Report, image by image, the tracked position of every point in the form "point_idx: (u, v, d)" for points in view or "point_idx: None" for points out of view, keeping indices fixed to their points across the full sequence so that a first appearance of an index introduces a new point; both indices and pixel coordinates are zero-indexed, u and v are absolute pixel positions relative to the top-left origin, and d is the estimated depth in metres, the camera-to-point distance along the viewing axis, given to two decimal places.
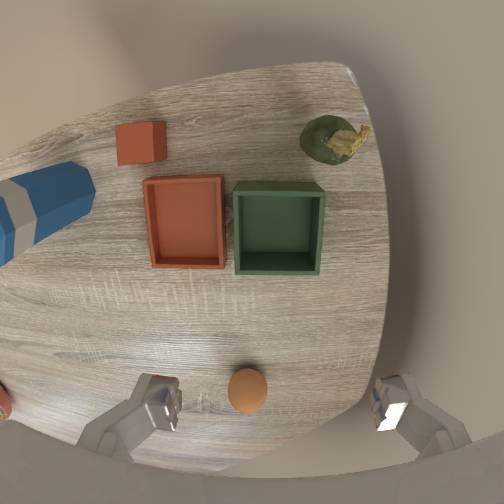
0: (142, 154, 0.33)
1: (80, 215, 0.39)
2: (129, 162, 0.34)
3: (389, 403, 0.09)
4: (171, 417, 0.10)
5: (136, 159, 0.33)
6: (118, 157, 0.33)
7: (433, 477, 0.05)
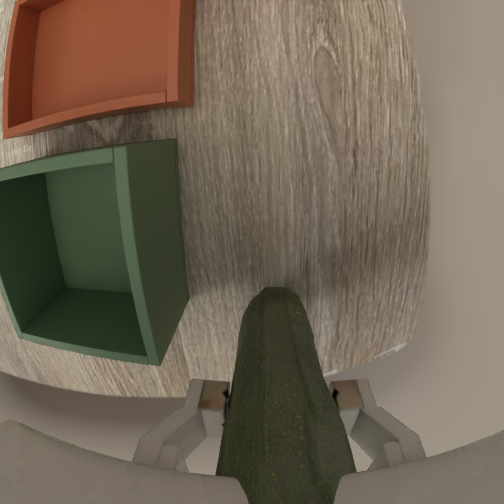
0: None
1: None
2: None
3: (338, 409, 0.09)
4: None
5: None
6: None
7: (433, 477, 0.05)
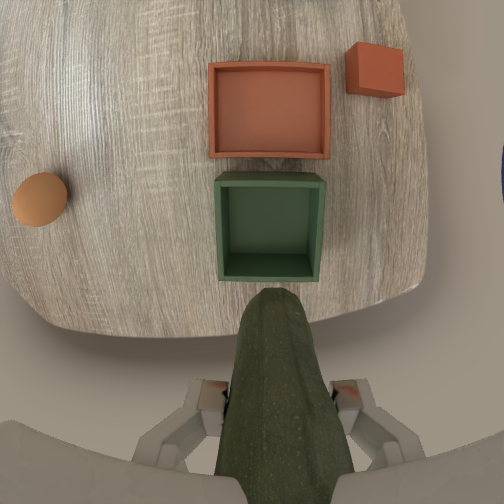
0: (369, 75, 0.24)
1: None
2: (360, 56, 0.23)
3: (337, 409, 0.09)
4: None
5: (363, 65, 0.23)
6: (366, 44, 0.23)
7: (433, 477, 0.05)
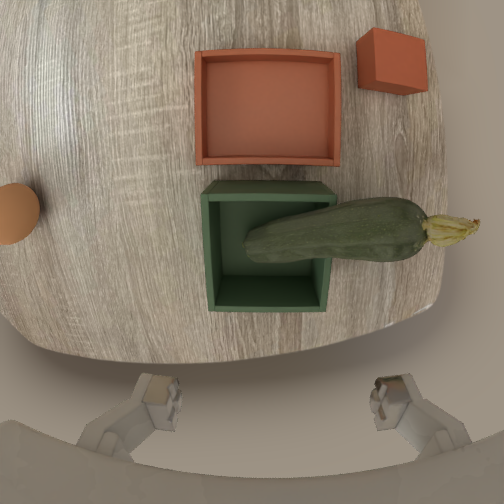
0: (387, 66, 0.19)
1: None
2: (376, 44, 0.18)
3: (389, 403, 0.09)
4: (171, 417, 0.10)
5: (380, 55, 0.19)
6: (384, 31, 0.18)
7: (433, 477, 0.05)
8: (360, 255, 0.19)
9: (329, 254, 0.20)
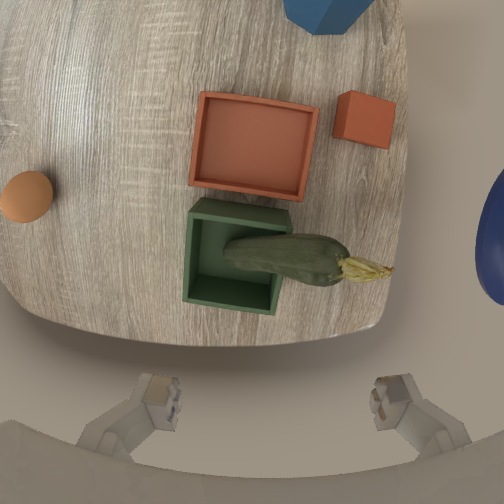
0: (356, 126, 0.26)
1: (292, 10, 0.24)
2: (350, 106, 0.26)
3: (389, 403, 0.09)
4: (171, 417, 0.10)
5: (352, 115, 0.26)
6: (360, 94, 0.25)
7: (433, 477, 0.05)
8: (290, 275, 0.26)
9: (271, 270, 0.27)
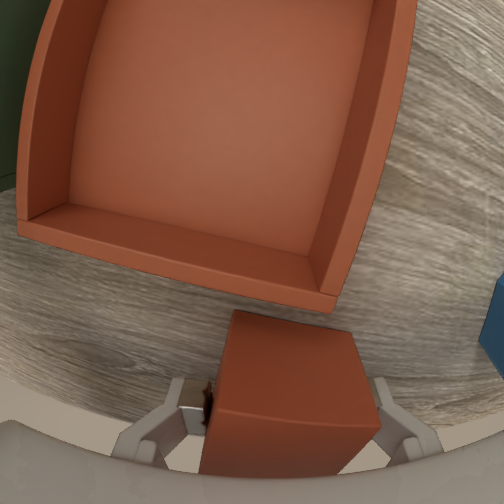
0: (259, 439, 0.08)
1: None
2: (331, 429, 0.07)
3: None
4: (205, 421, 0.10)
5: (296, 432, 0.07)
6: (363, 444, 0.08)
7: (433, 477, 0.05)
8: None
9: None
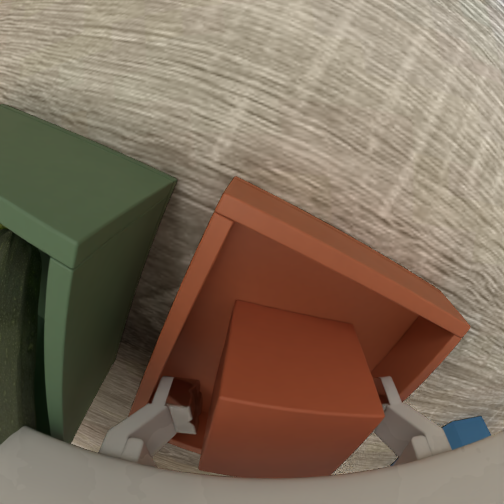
0: (261, 428, 0.08)
1: None
2: (333, 418, 0.07)
3: None
4: (194, 420, 0.10)
5: (299, 422, 0.07)
6: (365, 434, 0.08)
7: (433, 477, 0.05)
8: None
9: None
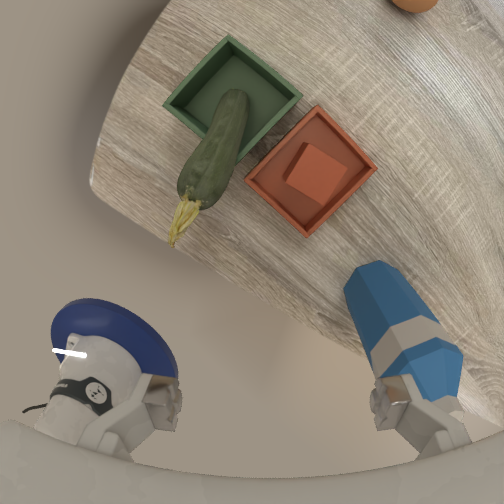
0: (315, 159, 0.30)
1: (384, 269, 0.37)
2: (334, 161, 0.30)
3: (389, 403, 0.09)
4: (171, 417, 0.10)
5: (325, 159, 0.30)
6: (342, 174, 0.31)
7: (433, 477, 0.05)
8: (205, 150, 0.25)
9: (215, 133, 0.26)
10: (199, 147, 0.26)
